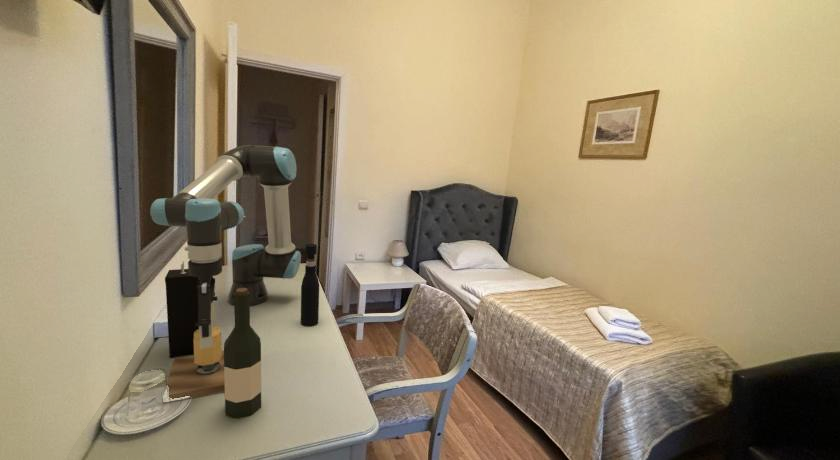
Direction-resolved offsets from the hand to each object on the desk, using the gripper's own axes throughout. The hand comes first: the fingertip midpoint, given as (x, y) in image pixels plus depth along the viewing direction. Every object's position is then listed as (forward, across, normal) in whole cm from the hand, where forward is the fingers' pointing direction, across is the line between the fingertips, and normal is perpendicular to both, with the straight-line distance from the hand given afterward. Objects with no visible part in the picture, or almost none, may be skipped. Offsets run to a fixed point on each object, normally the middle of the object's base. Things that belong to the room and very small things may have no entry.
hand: (208, 335), depth 96 cm
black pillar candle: (+12, -16, -7) cm, 22 cm away
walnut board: (+12, 0, 0) cm, 12 cm away
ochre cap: (+7, 0, 0) cm, 7 cm away
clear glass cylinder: (+10, 0, 0) cm, 10 cm away
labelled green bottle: (+12, +17, +8) cm, 23 cm away
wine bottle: (+13, -24, +31) cm, 41 cm away
